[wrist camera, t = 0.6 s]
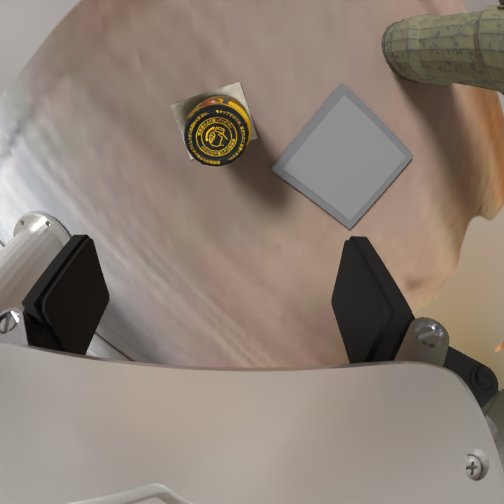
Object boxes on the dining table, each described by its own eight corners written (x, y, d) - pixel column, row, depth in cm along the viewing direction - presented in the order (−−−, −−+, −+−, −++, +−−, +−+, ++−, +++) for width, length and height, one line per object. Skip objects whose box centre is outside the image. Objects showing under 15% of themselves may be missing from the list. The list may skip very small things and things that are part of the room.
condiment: (257, 138, 34) (268, 163, 24) (191, 159, 35) (172, 194, 25) (239, 81, 30) (242, 79, 20) (170, 105, 31) (140, 116, 21)
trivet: (347, 226, 41) (350, 229, 40) (270, 168, 36) (271, 170, 35) (410, 154, 35) (414, 156, 34) (340, 83, 30) (343, 83, 29)
